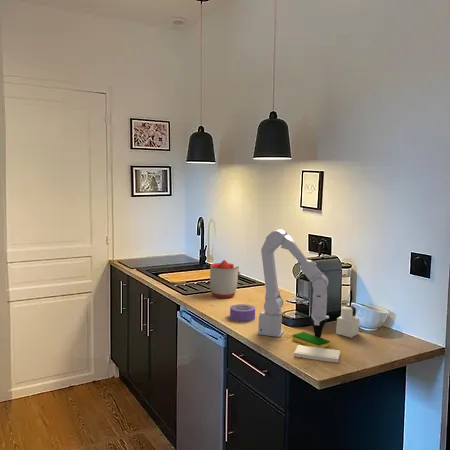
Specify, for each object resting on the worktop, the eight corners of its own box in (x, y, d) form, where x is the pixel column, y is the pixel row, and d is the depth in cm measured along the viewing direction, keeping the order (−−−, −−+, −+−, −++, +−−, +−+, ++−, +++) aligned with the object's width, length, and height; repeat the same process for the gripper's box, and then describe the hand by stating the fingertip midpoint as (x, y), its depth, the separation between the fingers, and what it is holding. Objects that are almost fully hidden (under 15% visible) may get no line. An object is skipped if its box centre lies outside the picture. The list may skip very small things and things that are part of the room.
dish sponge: (318, 350, 185) (318, 344, 185) (291, 340, 196) (292, 334, 196) (330, 346, 190) (330, 340, 190) (303, 337, 201) (303, 331, 200)
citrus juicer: (245, 298, 260) (246, 261, 258) (216, 300, 253) (217, 263, 251) (232, 291, 274) (233, 256, 272) (204, 293, 267) (205, 258, 265)
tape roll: (238, 323, 216) (238, 312, 216) (225, 316, 226) (225, 305, 226) (259, 319, 222) (260, 309, 222) (246, 313, 232) (246, 303, 232)
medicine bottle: (343, 330, 210) (344, 303, 209) (358, 333, 206) (360, 306, 204) (335, 334, 205) (337, 306, 203) (351, 337, 200) (353, 309, 199)
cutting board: (294, 356, 177) (294, 352, 177) (297, 348, 186) (298, 344, 186) (338, 362, 173) (338, 358, 172) (340, 354, 181) (340, 350, 181)
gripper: (327, 310, 187) (325, 344, 188) (331, 301, 201) (329, 333, 202) (309, 308, 189) (307, 342, 190) (314, 299, 203) (312, 331, 204)
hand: (317, 337), depth 196 cm, fingers closed
